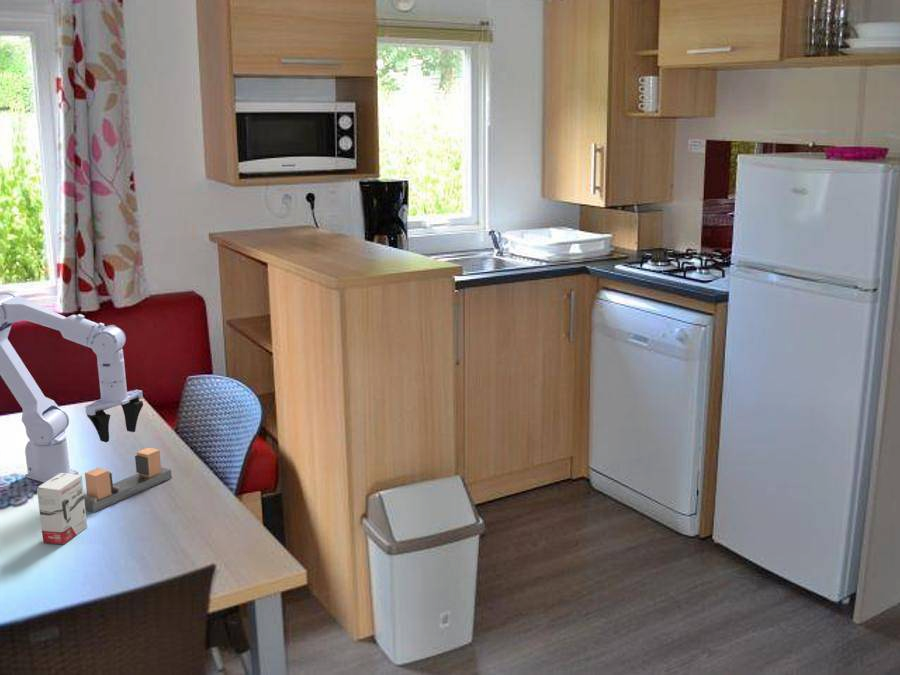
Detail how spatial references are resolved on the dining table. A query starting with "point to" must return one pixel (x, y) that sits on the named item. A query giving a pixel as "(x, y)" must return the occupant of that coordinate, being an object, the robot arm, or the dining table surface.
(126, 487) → the rail
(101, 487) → the tan block with backing
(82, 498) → the ink box
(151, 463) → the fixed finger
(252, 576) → the dining table surface
